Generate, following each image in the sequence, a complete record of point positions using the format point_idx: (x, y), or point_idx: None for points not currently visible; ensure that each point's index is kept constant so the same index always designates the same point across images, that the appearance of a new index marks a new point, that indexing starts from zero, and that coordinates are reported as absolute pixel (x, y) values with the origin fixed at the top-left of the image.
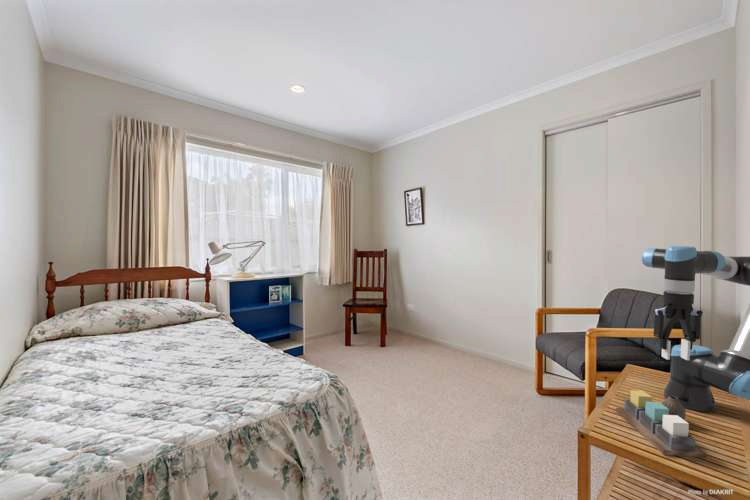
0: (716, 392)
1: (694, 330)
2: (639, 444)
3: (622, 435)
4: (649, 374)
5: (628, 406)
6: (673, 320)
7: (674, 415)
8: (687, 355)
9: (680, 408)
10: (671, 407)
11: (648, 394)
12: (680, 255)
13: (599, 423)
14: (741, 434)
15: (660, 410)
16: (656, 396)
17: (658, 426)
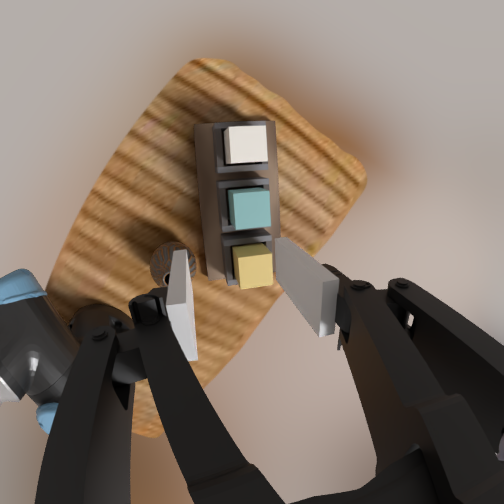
0: None
1: (111, 398)
2: (297, 149)
3: (313, 175)
4: (136, 419)
5: None
6: (453, 406)
7: (240, 161)
8: (185, 258)
9: (166, 254)
10: None
11: (239, 270)
12: None
13: (335, 211)
14: (71, 231)
15: (253, 191)
16: None
17: (267, 161)
